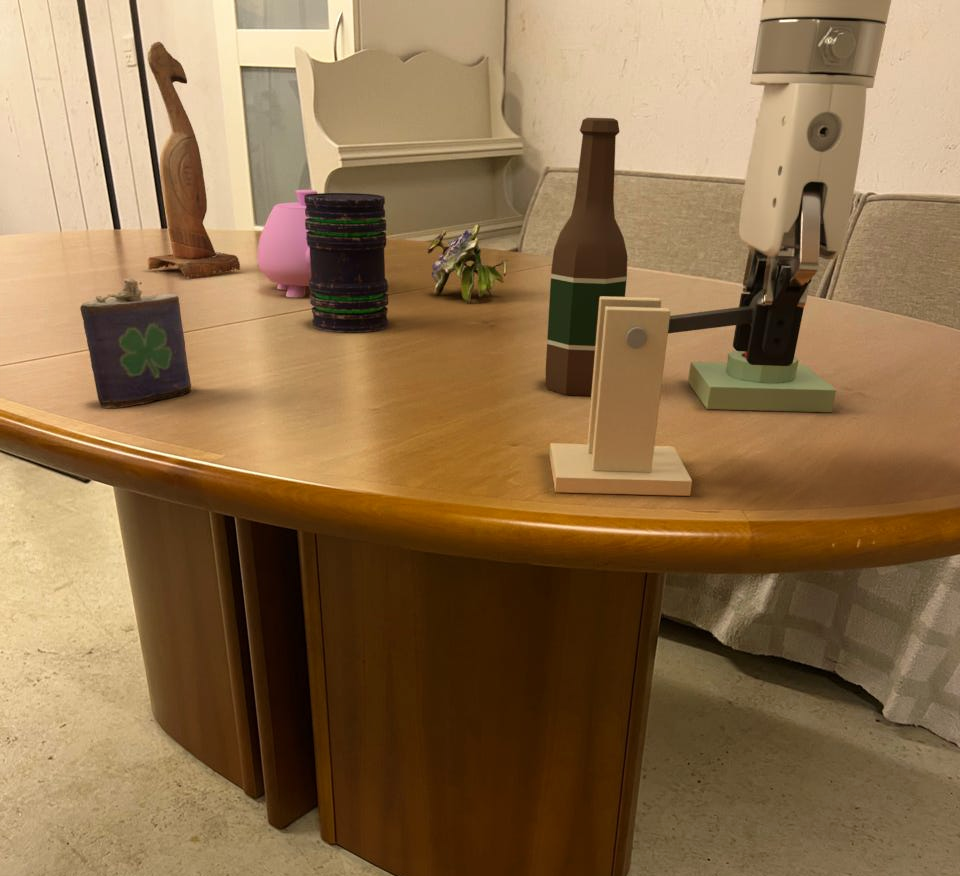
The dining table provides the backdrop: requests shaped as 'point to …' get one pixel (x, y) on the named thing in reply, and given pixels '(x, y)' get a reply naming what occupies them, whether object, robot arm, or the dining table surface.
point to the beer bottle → (585, 264)
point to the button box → (759, 386)
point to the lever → (714, 318)
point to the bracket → (624, 409)
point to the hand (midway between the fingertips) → (761, 354)
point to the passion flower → (464, 264)
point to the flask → (136, 347)
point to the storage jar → (347, 261)
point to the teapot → (286, 247)
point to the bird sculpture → (183, 181)
